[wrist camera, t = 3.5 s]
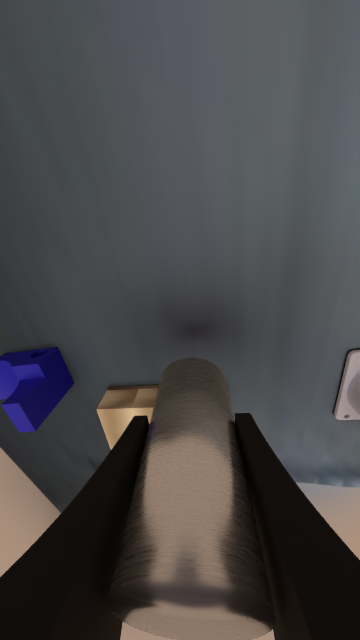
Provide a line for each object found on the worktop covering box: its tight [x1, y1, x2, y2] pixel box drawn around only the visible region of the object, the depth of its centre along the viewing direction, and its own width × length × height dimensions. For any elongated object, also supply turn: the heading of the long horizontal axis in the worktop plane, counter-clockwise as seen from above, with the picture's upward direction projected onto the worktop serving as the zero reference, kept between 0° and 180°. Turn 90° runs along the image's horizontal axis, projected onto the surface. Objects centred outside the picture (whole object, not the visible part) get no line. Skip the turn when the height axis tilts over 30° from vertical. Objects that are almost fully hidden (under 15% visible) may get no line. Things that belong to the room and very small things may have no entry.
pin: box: [107, 358, 276, 640], centre depth 9 cm, size 4×4×8 cm
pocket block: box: [97, 385, 159, 450], centre depth 22 cm, size 12×10×3 cm
